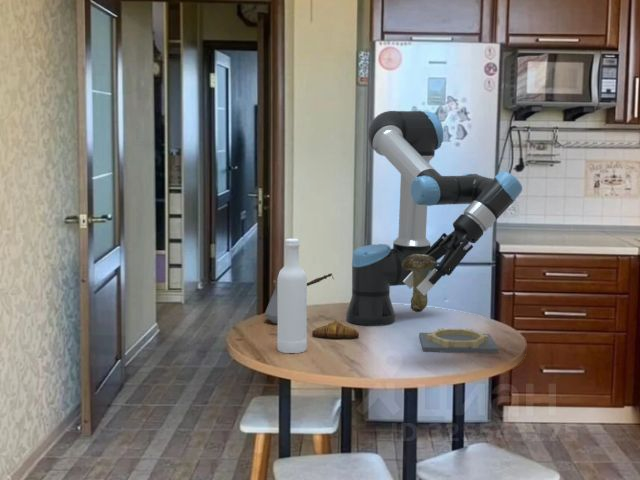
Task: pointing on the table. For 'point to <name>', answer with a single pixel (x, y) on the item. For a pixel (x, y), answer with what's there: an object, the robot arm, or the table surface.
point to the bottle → (292, 302)
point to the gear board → (457, 341)
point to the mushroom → (418, 277)
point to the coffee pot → (272, 306)
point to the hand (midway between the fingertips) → (413, 288)
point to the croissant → (335, 331)
